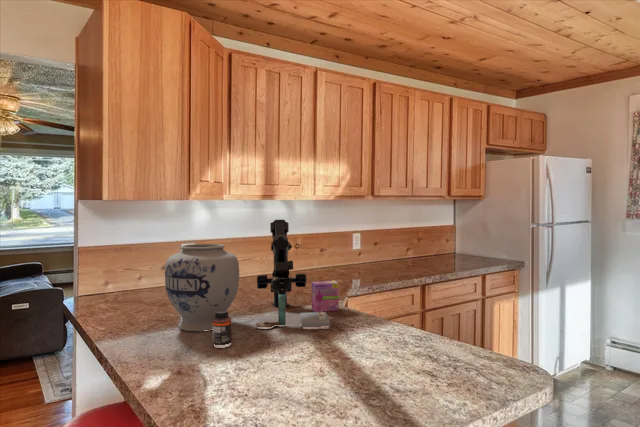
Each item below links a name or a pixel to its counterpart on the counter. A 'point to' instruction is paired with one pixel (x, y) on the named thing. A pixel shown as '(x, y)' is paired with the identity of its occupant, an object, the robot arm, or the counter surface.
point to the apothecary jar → (201, 283)
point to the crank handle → (280, 314)
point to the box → (325, 296)
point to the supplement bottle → (222, 328)
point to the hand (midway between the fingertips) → (282, 300)
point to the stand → (314, 319)
